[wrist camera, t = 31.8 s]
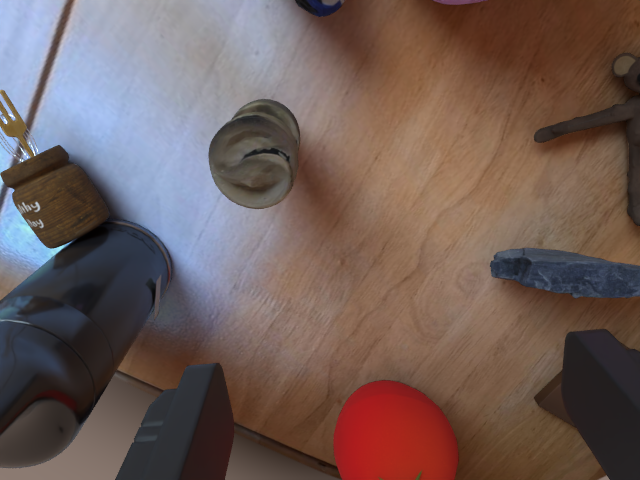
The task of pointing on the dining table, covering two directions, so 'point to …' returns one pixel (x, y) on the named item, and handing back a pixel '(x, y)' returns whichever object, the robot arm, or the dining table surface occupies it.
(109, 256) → the robot arm
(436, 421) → the tomato
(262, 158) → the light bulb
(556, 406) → the peg stand
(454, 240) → the dining table surface
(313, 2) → the athletic shoe
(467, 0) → the teapot
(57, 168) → the utensil holder
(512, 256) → the stone
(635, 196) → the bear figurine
